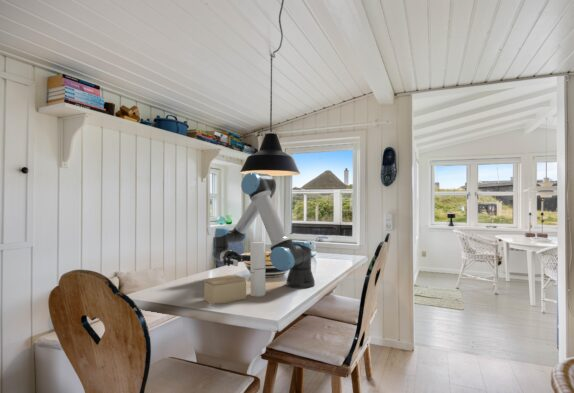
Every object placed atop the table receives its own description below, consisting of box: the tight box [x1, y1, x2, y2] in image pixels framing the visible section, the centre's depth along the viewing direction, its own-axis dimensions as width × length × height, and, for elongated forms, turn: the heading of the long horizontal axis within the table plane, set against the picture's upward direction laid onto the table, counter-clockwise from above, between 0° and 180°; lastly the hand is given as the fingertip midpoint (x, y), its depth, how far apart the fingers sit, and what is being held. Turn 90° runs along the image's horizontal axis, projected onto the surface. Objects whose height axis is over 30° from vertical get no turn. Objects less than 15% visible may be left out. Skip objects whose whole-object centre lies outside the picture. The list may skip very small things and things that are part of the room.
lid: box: [203, 274, 246, 285], centre depth 149 cm, size 10×16×1 cm, turn 127°
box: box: [203, 280, 247, 306], centre depth 149 cm, size 10×16×8 cm, turn 127°
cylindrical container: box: [249, 240, 267, 297], centre depth 157 cm, size 7×7×25 cm
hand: (249, 261), depth 163 cm, fingers open, 13 cm apart
